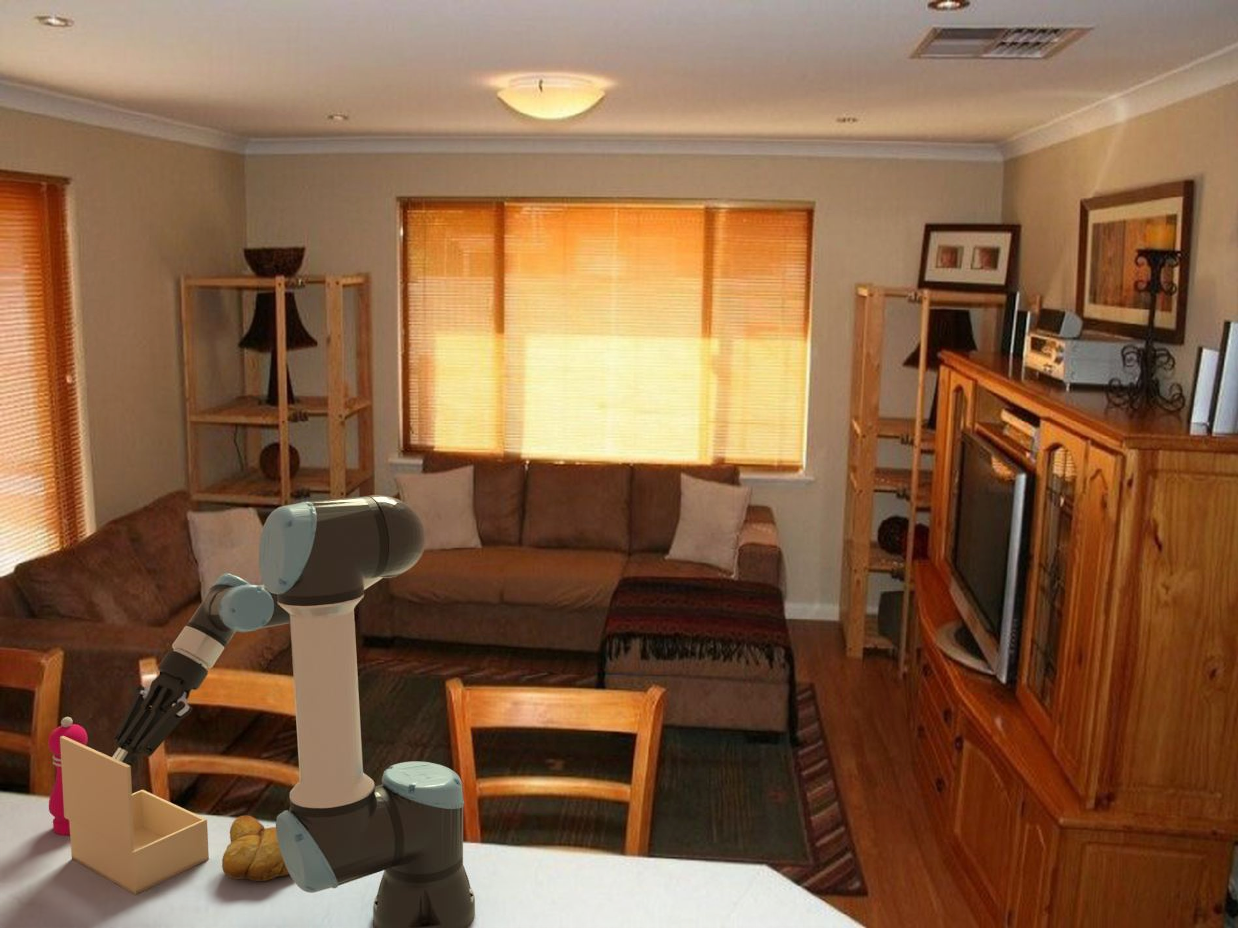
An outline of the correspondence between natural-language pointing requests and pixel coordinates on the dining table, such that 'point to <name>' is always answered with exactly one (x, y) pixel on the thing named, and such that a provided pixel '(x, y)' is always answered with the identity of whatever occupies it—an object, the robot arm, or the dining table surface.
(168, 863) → the mailer box
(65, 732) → the pepper mill
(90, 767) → the lid
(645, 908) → the dining table surface
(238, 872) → the bread roll
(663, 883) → the dining table surface
